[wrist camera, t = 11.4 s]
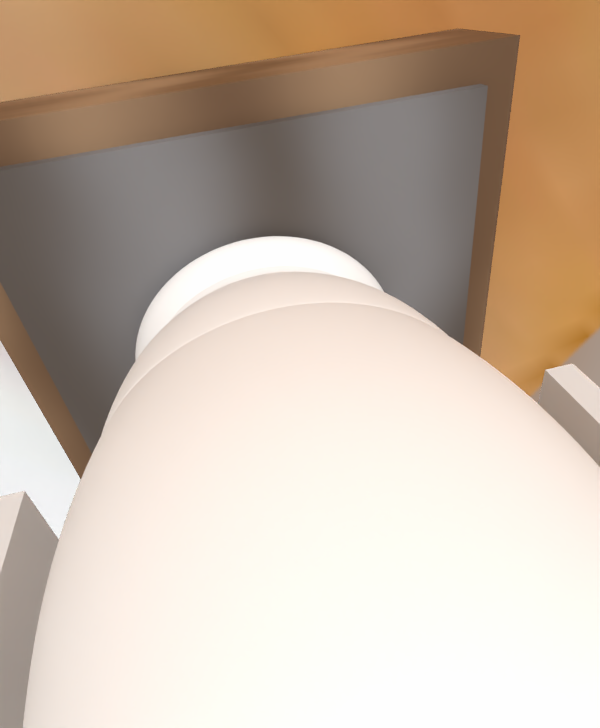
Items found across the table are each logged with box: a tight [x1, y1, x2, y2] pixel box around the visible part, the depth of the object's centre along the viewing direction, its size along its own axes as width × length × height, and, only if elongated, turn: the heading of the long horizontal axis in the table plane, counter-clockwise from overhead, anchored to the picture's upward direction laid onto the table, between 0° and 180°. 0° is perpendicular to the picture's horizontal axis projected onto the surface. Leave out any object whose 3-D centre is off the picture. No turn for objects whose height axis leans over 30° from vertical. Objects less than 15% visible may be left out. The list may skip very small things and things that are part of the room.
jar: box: [23, 236, 600, 728], centre depth 11 cm, size 11×10×15 cm
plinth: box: [0, 29, 520, 479], centre depth 19 cm, size 16×16×4 cm
